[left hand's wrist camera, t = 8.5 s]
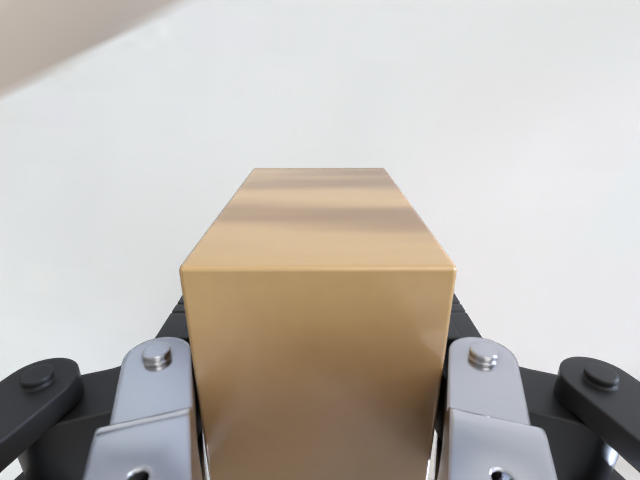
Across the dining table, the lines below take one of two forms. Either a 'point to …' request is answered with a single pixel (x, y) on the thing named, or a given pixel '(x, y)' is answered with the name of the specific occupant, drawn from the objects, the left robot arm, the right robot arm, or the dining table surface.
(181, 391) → the left robot arm
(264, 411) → the bar
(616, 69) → the dining table surface
